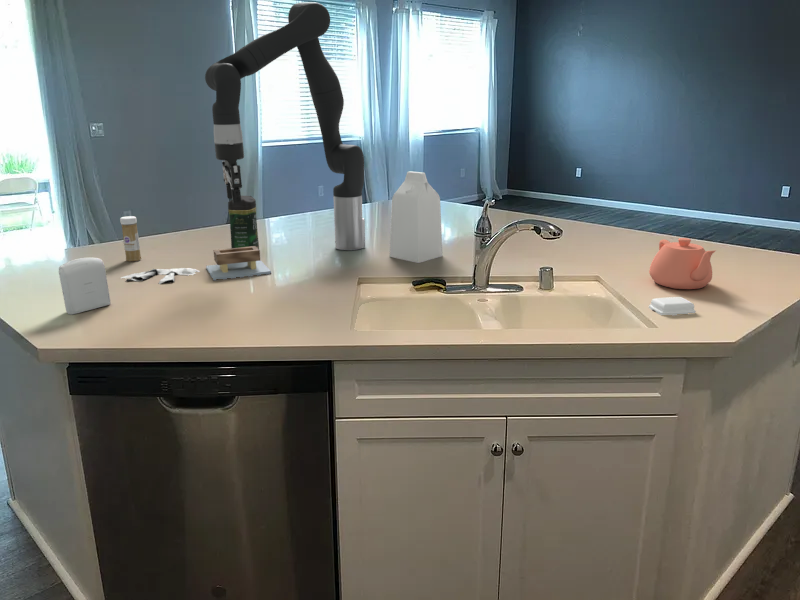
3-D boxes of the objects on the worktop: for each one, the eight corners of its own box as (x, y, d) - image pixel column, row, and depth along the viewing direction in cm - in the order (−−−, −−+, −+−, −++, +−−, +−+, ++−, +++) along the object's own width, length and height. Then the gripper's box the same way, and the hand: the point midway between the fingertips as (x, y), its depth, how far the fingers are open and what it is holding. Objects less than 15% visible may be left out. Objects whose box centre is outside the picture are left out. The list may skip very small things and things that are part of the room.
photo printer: (71, 316, 149) (62, 264, 145) (62, 312, 151) (53, 261, 148) (113, 305, 156) (106, 255, 152) (105, 301, 159) (97, 253, 155)
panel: (260, 262, 195) (259, 252, 194) (271, 273, 182) (270, 262, 181) (206, 268, 188) (205, 257, 187) (213, 280, 176) (212, 269, 175)
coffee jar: (254, 258, 199) (249, 198, 194) (229, 258, 200) (223, 198, 194) (262, 251, 209) (258, 194, 203) (238, 250, 209) (233, 193, 203)
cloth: (209, 271, 188) (208, 263, 187) (169, 293, 168) (168, 284, 167) (147, 268, 192) (146, 260, 191) (100, 289, 172) (98, 280, 171)
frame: (256, 255, 189) (255, 245, 188) (260, 260, 184) (259, 250, 183) (214, 260, 185) (213, 250, 184) (217, 265, 179) (216, 254, 179)
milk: (442, 256, 201) (443, 172, 193) (418, 263, 193) (418, 175, 185) (414, 250, 209) (414, 169, 201) (389, 256, 201) (388, 172, 193)
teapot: (734, 295, 161) (741, 247, 157) (680, 299, 158) (686, 250, 154) (680, 272, 181) (686, 229, 177) (632, 275, 178) (637, 232, 175)
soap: (661, 317, 146) (663, 305, 145) (646, 308, 153) (647, 296, 152) (697, 315, 148) (699, 303, 147) (680, 306, 154) (682, 294, 153)
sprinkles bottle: (123, 262, 196) (117, 218, 192) (129, 258, 201) (123, 215, 196) (138, 261, 196) (132, 218, 192) (144, 258, 201) (138, 215, 197)
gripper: (210, 140, 180) (216, 198, 185) (218, 143, 167) (224, 205, 172) (237, 139, 182) (242, 196, 188) (247, 142, 170) (252, 203, 175)
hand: (234, 200), depth 180 cm, fingers open, 8 cm apart
